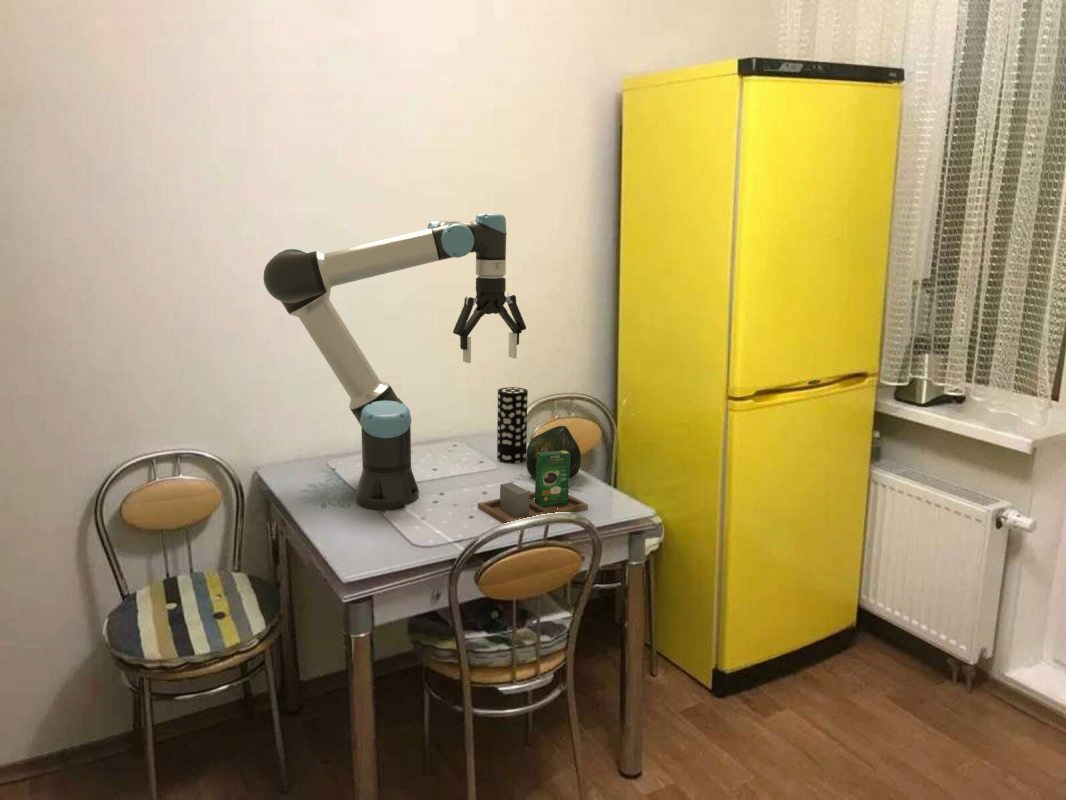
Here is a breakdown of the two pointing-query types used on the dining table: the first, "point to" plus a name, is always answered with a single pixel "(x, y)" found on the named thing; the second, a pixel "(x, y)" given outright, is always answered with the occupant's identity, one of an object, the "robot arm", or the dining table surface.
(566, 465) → the coffee box
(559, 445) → the squash
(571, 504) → the tray
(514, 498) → the block
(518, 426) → the white-spotted black cylinder
